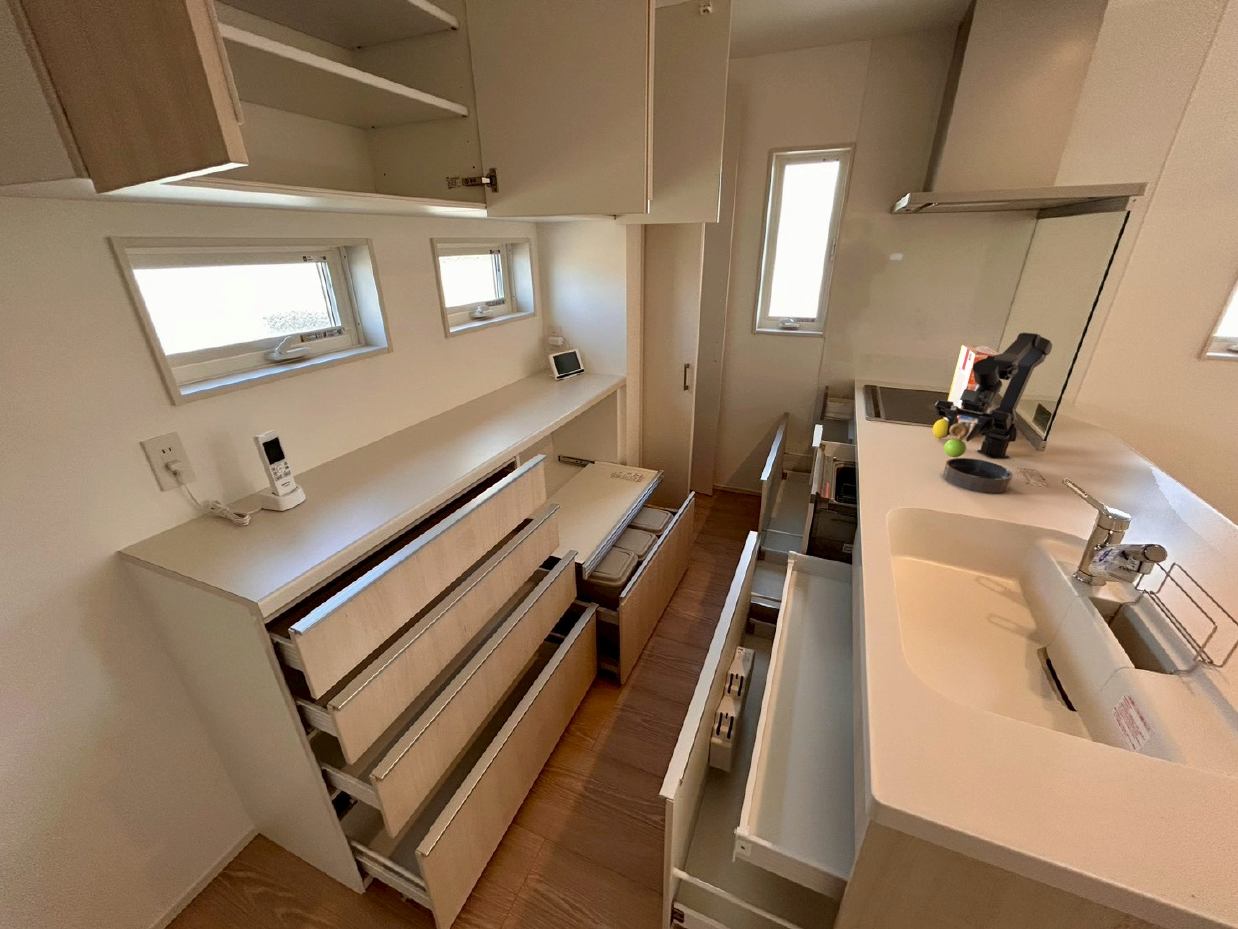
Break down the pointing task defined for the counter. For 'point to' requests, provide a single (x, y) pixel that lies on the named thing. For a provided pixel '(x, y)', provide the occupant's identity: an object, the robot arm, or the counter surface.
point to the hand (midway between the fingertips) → (957, 438)
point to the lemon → (940, 428)
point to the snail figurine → (957, 439)
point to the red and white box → (967, 376)
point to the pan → (977, 475)
